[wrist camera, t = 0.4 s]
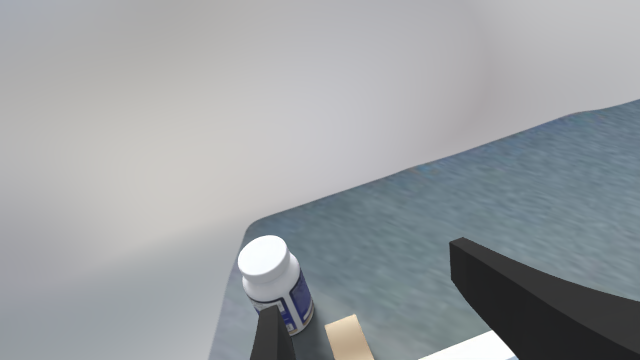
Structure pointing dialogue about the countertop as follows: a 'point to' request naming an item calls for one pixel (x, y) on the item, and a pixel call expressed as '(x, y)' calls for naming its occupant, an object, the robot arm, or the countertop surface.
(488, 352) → the ridge stand
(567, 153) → the countertop surface
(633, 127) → the countertop surface
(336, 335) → the beam
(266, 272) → the pill bottle
